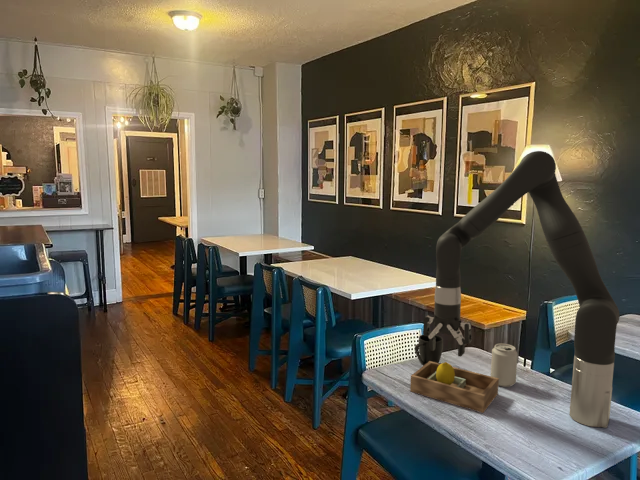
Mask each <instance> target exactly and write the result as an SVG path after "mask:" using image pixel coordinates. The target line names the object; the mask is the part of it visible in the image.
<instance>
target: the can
mask: <svg viewBox="0 0 640 480" xmlns="http://www.w3.org/2000/svg"><path fill="white" fill-rule="evenodd" d="M518 356H519V355H518V352H517V350H516V347H515V346H514V345H512V344H509V343H495V344H494V347H493V348H492V349H491V361H490V363H491V364H490V376H491V377H495V378H499V383H498V387H504V388H509V387H512V386H513V385H515V384H516V383H517V368H518Z"/></svg>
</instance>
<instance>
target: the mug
mask: <svg viewBox="0 0 640 480" xmlns="http://www.w3.org/2000/svg"><path fill="white" fill-rule="evenodd" d="M435 338H436V348H435V350H434V351H431V349H430V348H429V338H428V337H427V336H424V335H423V334H420V335H419V336H418V343H417V344H415V346H414V352H415V355H416V357H417V359H418V362H419V363H420V365H422V367H423V366H424V365H425V364H426V363H428V362H429V361H431V362H435V363H439V364H440V360H441V357H442V355H443V349H444V338H443V336H440V335H437V334H436V335H435Z"/></svg>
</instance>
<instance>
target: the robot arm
mask: <svg viewBox="0 0 640 480" xmlns="http://www.w3.org/2000/svg"><path fill="white" fill-rule="evenodd" d="M556 169H557V164H556V160H555V158H554V156H553V155H552V154H550V153H548V152H546V151H542V150H534V151H532V152H529V153H528V154H526V155H524V156H523V158H522V159H521V160H520V162H519V163H518V165H517V166H516V167H515V168H514V170H513V171H512V172H511V173H510V175H508V177H506V179H505V180H504V181H503V182H502V183H501V184H499V186H498V187H497V188H495V189H494V190H493V191H492V192H491V193H489V194H488V195H487V196H486V197H485V198H483V199H482V200H481V201H480V202H479V203H477V205H475V206H474V207H473V208H472V209H470V211H468V212H467V213H466V214H465V215H463V217H462V218H461V219H460V220H459V221H458V222H457V223H455V224H454V225H453V226H451V227H450V228H448V229H447V230H446V231H445V232H444V233H442V235H440V236H439V238H438V239H437V242H436V246H435V250H436V251H435V252H436V253H435V257H436V272H435V273H436V274H435V289H434V309H433V310H434V314H433V315H434V316H431V315H430V314H427V315H426V316H425V317H424V318H423V326H422V327H423V329H422V335H424V336H427V337H428V338H429V348H430V349H431V351H434V350H435V348H436V338H435V335H437V334H438V333H440V334H443V335H444V334H445V335H448V336H451V335H452V336H453V339H455V340H456V341H457V343H458V345H457V346H458V347H457V357H461V358H462V356H463V355H464V354H465V351H466V350H465V349H466V345H468V344H470V343H471V342H472V340H473V338H472V323H471V322H470V321H468V322H463V321H462V320H461V308H462V307H461V306H462V304H461V303H462V301H461V300H462V292H461V291H462V289H461V277H462V276H461V274H462V273H461V269H460V268H461V260H462V258H461V257H462V249H463V248H465V246H467V245H468V244H469V243H470V242H471V241H472V240H474V239H476V238H478V237H480V236H481V235H482V234H484V233H485V231H487V230H488V229H489V228H490V227H491V226H492V225H494V224H495V223H496V222H497V221H498V220H499V219H500V218H501V217H502V216H503V215H504V214H505V213H506V212H507V211H508V210H509V209H510V208H511V207H512V206H513V205H514V204H515V203H517V201H519V200H520V199H521V198H522V197H524V196H525V195H526V194H528V195H529V196H530V198H531V199H532V202H533V204H534V206H535V209H536V211H537V215H538V218H539V222H540V226H541V229H542V232H543V235H544V238H545V241H546V242H547V245H548V248H549V250H550V252H551V255H552V257H553V259H554V261H555V262H556V264H557V265H558V266H559V269H560V270H562V272H563V273H564V274H565V276H566V277H567V279H568V280H569V281H570V284H571V285H572V287H573V290H574V292H575V295H576V298H577V302H578V306H579V308H578V309H577V311H576V315H575V321H574V322H575V324H574V337H573V347H574V356H573V369H572V379H571V390H570V403H569V416H570V418H571V419H572V420H574V421H575V422H577V423H579V424H582V425H585V426H588V427H593V428H604V429H608V425H609V422H610V415H611V405H612V395H613V378H614V368H615V358H616V357H615V356H616V352H615V348H616V347H615V346H616V338H617V337H616V334H617V325H618V323H619V321H620V315H621V314H620V311H619V308H618V306H617V303H616V302H615V300H614V299H613V297H612V295H611V294H610V291H609V290H608V288H607V287H606V284H605V283H604V281H603V279H602V277H601V275H600V271H599V269H598V266H597V262H596V260H595V256H594V255H593V252H592V249H591V247H590V244H589V241H588V239H587V236H586V233H585V232H584V230H583V228H582V225H581V223H580V222H579V220H578V218H577V217H576V215H575V213H574V211H573V210H572V209H571V207H570V206H569V204H568V202H567V201H566V200H565V198H564V196H563V193H562V191H561V188H560V185H559V183H558V179H557V176H556ZM432 323H433V324H434V325H435V328H434V329H433V330H432V331H431V324H432ZM460 328H462V330H463V331H464V335H463V333H462V330H460Z"/></svg>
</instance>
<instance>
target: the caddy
mask: <svg viewBox="0 0 640 480" xmlns="http://www.w3.org/2000/svg"><path fill="white" fill-rule="evenodd" d="M440 364H441V363H440V362H439V363H435V362H431V361H429V362H428V363H426V364H425V365H424V366H423V365H422V366H421V367H420V368H419V369H417V370H416V371H415V372H414V373H412V374H411V375H410V389H409V392H412V393H414V394H418V395H422V396H424V397H429V398H431V399H435V400H438V401H442V402H444V403H445V402H446V403H448V404H452V405H455V406H459V407H462V408H465V409H468V410H471V411H475V412H478V413H481V414H483V413H484V412H485V411H486V410H487V409H488V407H489V406H490V405H491V403H493V402H494V400H495V398H496V397H497V396H498V395H499V385H498V383H499V378H495V377H491V375H487V374H483V373H479V372H475V371H472V370H467V369H463V368H459V367H454V366H452V367H453V369H454V372H455V378H454V381H453V383H452V384H451V385H448V384H444V383H441V382H438V381H437V378H436V371H437V368H438V366H439V365H440Z"/></svg>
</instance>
